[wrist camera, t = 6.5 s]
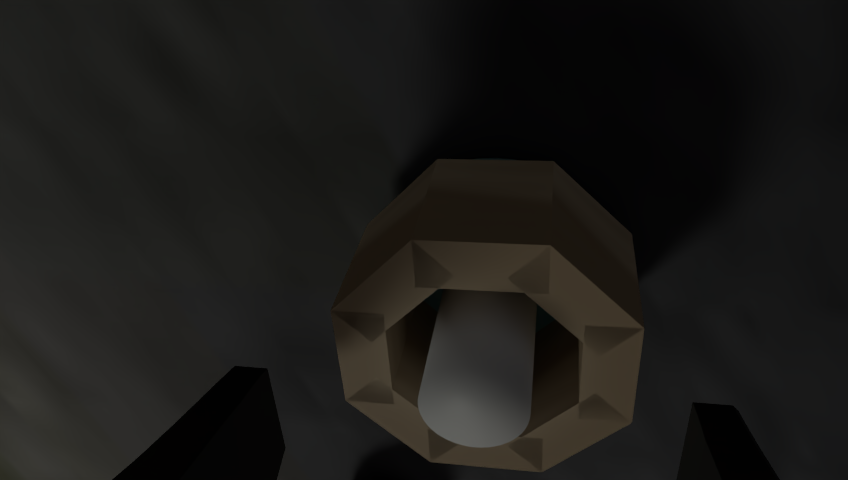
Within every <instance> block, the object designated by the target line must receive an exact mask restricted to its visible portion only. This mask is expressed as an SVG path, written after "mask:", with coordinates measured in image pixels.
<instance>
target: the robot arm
mask: <svg viewBox="0 0 848 480" xmlns="http://www.w3.org/2000/svg"><path fill="white" fill-rule="evenodd" d="M284 451H285V444H284V439H283V435H282V431H281V426H280V422H279V418H278V413H277V409H276V405H275V400H274V396H273V392H272V387H271V383H270V378H269V374H268V370H267V369H266V368H253V367H241V366H234V367H233V368H232V369H231V370H230V371H229V372H228V373H227V374H226V375H225V376H224V377H223V378H221V379H220V380H219V381H218V382H217V383H216V384H215V385H214V386H213V387H212V388H211V389H210V390H209V391H208V392H207V393H206V394H205V395H204V396H203V397H202V398H201V399H200V400H199V401H198V402H197V403H196V404H195V405H194V406H193V407H191V408H190V409H189V410H188V411H187V412H186V413H185V414H184V415H183V416H182V417H181V418H180V419H179V420H178V421H177V422H176V423H175V424H174V425H173V426H172V427H171V428H169V429H168V430H167V431H166V432H165V433H164V434H163V435H162V436H161V437H160V438H159V439H158V440H157V441H155V442H154V443H153V444H152V445H151V446H150V447H149V448H148V449H147V450H146V451H145V452H144V453H142V454H141V455H140V456H139V457H138V458H137V459H136V460H135V461H134V462H132V463H131V464H130V465H129V466H128V467H127V468H125V469H124V470H123V471H122V472H121V473H120V474H118V475H117V476H116V477H115V478H114V479H113V480H277V476H278V473H279V469H280V465H281V462H282V458H283V454H284ZM677 480H780V479H779V478H778V476H777V475H776V473H775V471H774V470H773V468H772V467H771V465H770V464H769V462H768V460H767V459H766V457H765V456H764V454H763V452H762V451H761V449H760V447H759V446H758V444H757V442H756V441H755V439H754V437H753V436H752V434H751V432H750V431H749V429H748V427H747V425H746V424H745V422H744V420H743V418H742V417H741V415H740V413H739V411H738V410H737V409H736V408H735V407H734V406H731V405H719V404H706V403H693V404H692V409H691V414H690V418H689V423H688V428H687V433H686V437H685V442H684V447H683V452H682V456H681V461H680V466H679V471H678V476H677Z"/></svg>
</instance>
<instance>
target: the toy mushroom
mask: <svg viewBox="0 0 848 480" xmlns="http://www.w3.org/2000/svg"><path fill="white" fill-rule="evenodd" d="M472 160H514V159H505V158H479V159H472ZM424 301H425V302H426V303H427V304H428V305H430V306H431V307H432V308H433V309H435V310H436V311H437V312H438V314H437V318H436V322H435V327H434V331H433V335H432V339H431V344H430V348H429V352H428V357H427V361H426V365H425V369H424V374H423V378H422V382H421V386H420V391H419V395H418V409H419V412H420V415H421V416H422V418H423V420H424V421H425V423H426V424H427V425H428V426H429V427H430V428H431V429H432V430H433V431H434V432H435V433H437V434H438V435H440V436H441V437H443V438H445V439H447V440H449V441H451V442H453V443H457V444H460V445H464V446H469V447H479V448H484V447H494V446H499V445H503V444H505V443H508V442H510V441H512V440H514V439H515V438H517V437H518V436H519V435H520V434H521V433H523V431H524V430H525V429H526V427H527V425H528V423H529V420H530V415H531V400H532V382H533V365H534V348H535V333H536V332H538V331H539V330H541V329H542V328H544V327H545V326H547V325H548V324H550V323H551V322H552V321H554V320H555V319H554V318H553V317H552V316H551V315H550V314H549V313H547V312H546V311H545V310H544V309H543V308H541V307H540V306H539V305H538V304H537V303H536V302H534V301H533V300H532V299H531V298H530V297H529V296H527V295H526V294H525V293H518V292H498V291H478V290H457V289H437V290H436V291H435V292H434V293H432V294H431V295H430V296H429V297H427V298H426V299H425V300H424Z"/></svg>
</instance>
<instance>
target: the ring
mask: <svg viewBox="0 0 848 480" xmlns="http://www.w3.org/2000/svg"><path fill="white" fill-rule="evenodd" d="M437 289H457V290H478V291H498V292H518V293H525V294H526V295H527V296H529V297H530V298H531V299H532V300H533V301H534V302H536V303H537V304H538V305H539V306H540V307H541V308H543V309H544V310H545V311H546V312H547V313H549V314H550V315H551V316H552V317H553V318H554V319H555V320H554V321H552V322H551V323H550V324H548V325H547V326H545V327H544V328H542V329H541V330H539V331H538V332H536V333H535V348H534V365H533V382H532V400H531V415H530V420H529V423H528V425H527V427H526V429H525V430H524V431H523V433H521V434H520V435H519V436H518V437H517V438H515V439H514V440H512V441H510V442H508V443H505V444H503V445H499V446H494V447H484V448H479V447H469V446H464V445H460V444H457V443H453V442H451V441H449V440H447V439H445V438H443V437H441V436H440V435H438V434H437V433H435V432H434V431H433V430H432V429H431V428H430V427H429V426H428V425H427V424H426V423H425V421H424V420H423V418H422V416H421V415H420V412H419V409H418V395H419V391H420V386H421V382H422V378H423V374H424V369H425V365H426V361H427V357H428V352H429V348H430V344H431V339H432V335H433V331H434V327H435V322H436V318H437V314H438V312H437V311H436V310H435V309H433V308H432V307H431V306H430V305H428V304H427V303H426V302H425V301H424V300H425V299H426V298H427V297H429V296H430V295H431V294H432V293H434V292H435V291H436V290H437ZM331 316H332V322H333V328H334V334H335V340H336V346H337V352H338V358H339V364H340V370H341V376H342V381H343V387H344V393H345V399H346V401H347V402H348V403H350V404H351V405H353V406H354V407H355V408H357V409H358V410H359V411H361V412H362V413H364V414H365V415H366V416H368V417H369V418H370V419H372V420H373V421H375V422H376V423H377V424H379V425H380V426H381V427H383V428H384V429H386V430H387V431H388V432H390V433H391V434H392V435H394V436H395V437H397V438H398V439H399V440H401V441H402V442H403V443H405V444H406V445H408V446H409V447H410V448H412V449H413V450H414V451H416V452H417V453H419V454H420V455H421V456H423V457H424V458H425V459H427V460H428V461H430V462H435V463H446V464H457V465H468V466H479V467H490V468H501V469H512V470H523V471H534V472H543V471H545V470H547V469H549V468H550V467H552V466H554V465H556V464H558V463H559V462H561V461H563V460H565V459H567V458H569V457H570V456H572V455H574V454H576V453H578V452H579V451H581V450H583V449H585V448H587V447H589V446H590V445H592V444H594V443H596V442H598V441H600V440H601V439H603V438H605V437H607V436H609V435H610V434H612V433H614V432H616V431H618V430H620V429H621V428H623V427H625V426H627V425H629V424H630V423H632V417H633V410H634V402H635V395H636V387H637V380H638V372H639V365H640V357H641V350H642V342H643V334H644V322H643V315H642V307H641V299H640V292H639V284H638V277H637V269H636V261H635V254H634V246H633V238H632V234H631V233H630V232H629V231H628V230H627V229H626V228H625V227H624V226H623V225H622V224H621V223H620V222H618V221H617V220H616V219H615V218H614V217H613V216H612V215H611V214H610V213H609V212H608V211H607V210H606V209H605V208H603V207H602V206H601V205H600V204H599V203H598V202H597V201H596V200H595V199H594V198H593V197H592V196H591V195H590V194H588V193H587V192H586V191H585V190H584V189H583V188H582V187H581V186H580V185H579V184H578V183H577V182H576V181H575V180H573V179H572V178H571V177H570V176H569V175H568V174H567V173H566V172H565V171H564V170H563V169H562V168H561V167H559V166H558V165H557V164H556V163H555V162H554V161H523V160H470V159H437V160H436V161H435V162H434V163H433V164H432V165H430V166H429V167H428V168H427V169H426V170H425V171H424V172H423V173H422V174H421V175H420V176H419V177H418V178H417V179H416V180H414V181H413V182H412V183H411V184H410V185H409V186H408V187H407V188H406V189H405V190H404V191H403V192H402V193H401V194H400V195H398V196H397V197H396V198H395V199H394V200H393V201H392V202H391V203H390V204H389V205H388V206H387V207H386V208H385V209H384V210H382V211H381V212H380V213H379V214H378V215H377V216H376V217H375V218H374V219H373V220H372V221H371V222H370V223H369V224H368V225H367V227H366V229H365V231H364V234H363V236H362V238H361V241H360V243H359V245H358V248H357V250H356V252H355V255H354V257H353V259H352V262H351V264H350V266H349V269H348V271H347V273H346V276H345V278H344V280H343V283H342V285H341V288H340V290H339V292H338V295H337V297H336V299H335V302H334V304H333V306H332V309H331Z"/></svg>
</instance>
